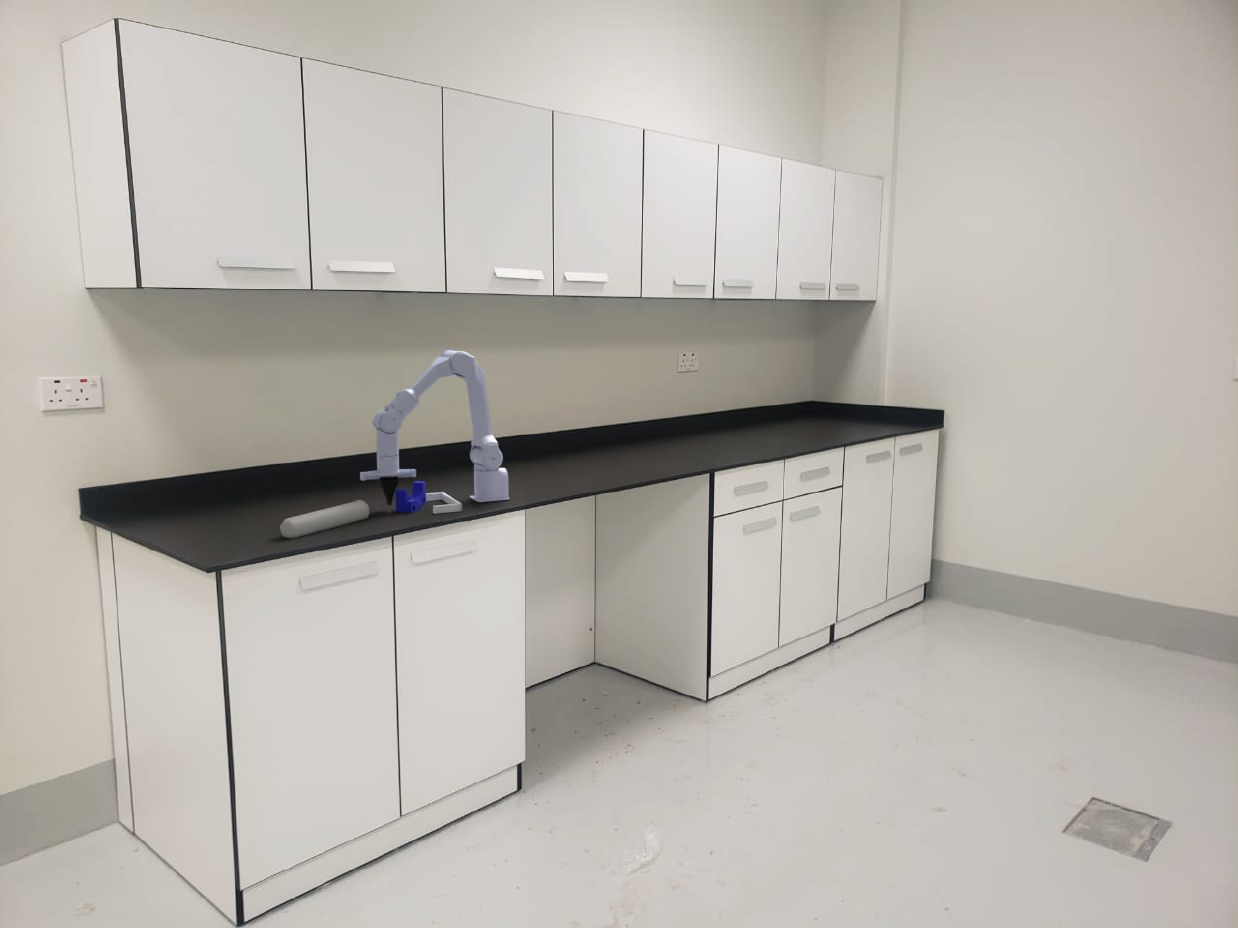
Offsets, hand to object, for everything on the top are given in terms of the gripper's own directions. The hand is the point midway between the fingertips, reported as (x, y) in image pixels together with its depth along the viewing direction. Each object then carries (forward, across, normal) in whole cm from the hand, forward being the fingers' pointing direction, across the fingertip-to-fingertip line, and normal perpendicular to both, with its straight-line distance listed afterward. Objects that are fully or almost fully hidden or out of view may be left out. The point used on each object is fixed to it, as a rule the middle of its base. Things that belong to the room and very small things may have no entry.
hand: (389, 504), depth 238 cm
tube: (+2, +19, +13) cm, 23 cm away
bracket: (+2, -13, 0) cm, 13 cm away
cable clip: (+2, -7, -1) cm, 7 cm away
